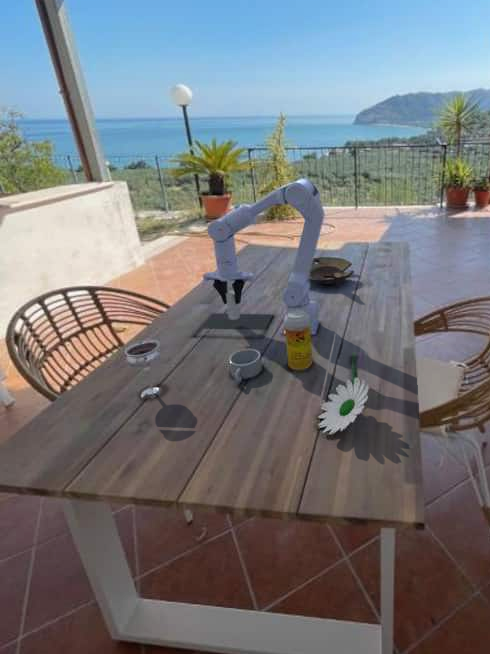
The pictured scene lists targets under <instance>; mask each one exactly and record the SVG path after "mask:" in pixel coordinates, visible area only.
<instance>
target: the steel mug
mask: <svg viewBox="0 0 490 654" xmlns="http://www.w3.org/2000/svg"><path fill="white" fill-rule="evenodd" d="M261 357H262V356H261V352H260V351H259V350H258V349H255V348H243V349H239V350H236V351H235V352H233V353H232V354H230V356H229V357H228V363H229V370H230V375H231V376H232V377H233V378H234V381H235V385H236V386H239V385H240V384H241V382H242V381H243V380H245V379H249V378H253V377H255V376H257V375H258V374H259V373H260V372H261V371H262V369H263V365H262V358H261Z"/></svg>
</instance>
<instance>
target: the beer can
mask: <svg viewBox="0 0 490 654" xmlns="http://www.w3.org/2000/svg"><path fill="white" fill-rule="evenodd" d="M283 321H284V330H285V333H286V334H285V341H286V342H285V343H286V344H285V345H286V356H287V365H288V367H289V368H291V369H292V370H294V371H303V370H307V369H308V368H310V366H312V364H313V355H312V354H313V353H312V352H313V351H312V334H311V333H310V316H309V314H308V312H307V310H305V309H303V308H294V309H290V310H288V311H287V312H286V311H285V315H284V317H283Z"/></svg>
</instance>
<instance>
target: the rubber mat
mask: <svg viewBox="0 0 490 654" xmlns="http://www.w3.org/2000/svg"><path fill="white" fill-rule="evenodd" d="M239 314H240V317H239V318H238V319H235V320H231V319H229V316H228V313H212V314H211V315H210V316H209V317H208V318H207V320H206V321H205V322H204V323H203V324H202V325H201V326H200V327H199V329H198V330H197V331H196V332H195V333H194V334H193V336H192V337H194V338H195V337H197V336H198V334H199V333H200V332H201V331H202V330H246V331H247V330H250V331H251V330H253V331H266V330H267V328H268V327H269V324H270V323H271V321H272V319H273V317H274V314H260V313H259V314H258V313H257V314H255V313H254V314H253V313H252V314H250V313H249V314H247V313H239Z"/></svg>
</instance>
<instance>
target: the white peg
mask: <svg viewBox="0 0 490 654" xmlns="http://www.w3.org/2000/svg"><path fill="white" fill-rule="evenodd" d="M226 301H227V304H226V305H227V306H226V307H227V308H226V309H227V314H228V316H229V319H231V320H235V319H238V318H239V317H240V314H241V313H240V307H239V306H240V305H239V304H236V301H235V293H234V290H232V291H231V290H230V291H228V292H227V293H226Z"/></svg>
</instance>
